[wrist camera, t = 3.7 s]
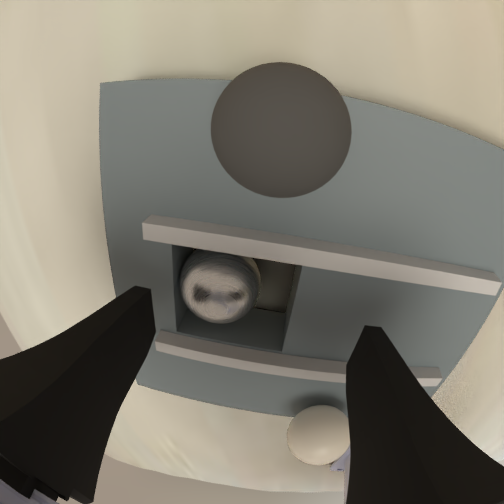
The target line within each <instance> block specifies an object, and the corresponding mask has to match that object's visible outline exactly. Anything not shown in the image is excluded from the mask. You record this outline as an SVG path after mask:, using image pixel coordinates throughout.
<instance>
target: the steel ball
mask: <svg viewBox="0 0 504 504" xmlns="http://www.w3.org/2000/svg"><path fill="white" fill-rule="evenodd" d="M260 290H261V276H260V272H259V269H258V266H257V264H256V262H255V261H254V259H253V258H252V257H246V256H240V255H234V254H228V253H222V252H216V251H210V250H204V249H197V250H195V251H194V252H193V253H192V254H191V255H190V256H189V257H188V259H187V260H186V262H185V263H184V265H183V268H182V271H181V274H180V291H181V295H182V298H183V300H184V302H185V304H186V305H187V307H188V308H189V309H190V310H191V312H193V313H194V314H195V315H196V316H197V317H199V318H201V319H203V320H205V321H208V322H211V323H217V324H224V323H230V322H233V321H236V320H238V319H240V318H242V317H244V316H245V315H246V314H247V313H248V312H250V311H251V309H252V308H253V307H254V305H255V304H256V302H257V300H258V297H259V295H260Z"/></svg>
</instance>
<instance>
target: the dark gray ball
mask: <svg viewBox="0 0 504 504" xmlns="http://www.w3.org/2000/svg"><path fill="white" fill-rule="evenodd" d="M351 135H352V128H351V120H350V115H349V112H348V108H347V106H346V104H345V102H344V100H343V98H342V96H341V95H340V93H339V92H338V90H337V89H336V88H335V87H334V86H333V85H332V84H331V83H330V82H329V81H328V80H327V79H326V78H325V77H323V76H322V75H320V74H319V73H317V72H315V71H313V70H311V69H309V68H307V67H304V66H301V65H297V64H292V63H283V62H276V63H267V64H262V65H259V66H256V67H253V68H251V69H249V70H247V71H245V72H243V73H242V74H240V75H239V76H237V77H236V78H235V79H234V80H232V81H231V82H230V83H229V84H228V86H227V87H226V88H225V89H224V90H223V92H222V93H221V95H220V97H219V98H218V100H217V102H216V105H215V107H214V110H213V114H212V119H211V139H212V144H213V148H214V151H215V153H216V156H217V158H218V160H219V162H220V163H221V165H222V167H223V168H224V169H225V171H226V172H227V173H228V174H229V175H230V176H231V177H232V178H233V179H234V180H235V181H236V182H237V183H239V184H240V185H242V186H243V187H245V188H246V189H248V190H250V191H252V192H254V193H257V194H260V195H263V196H268V197H274V198H291V197H298V196H302V195H305V194H308V193H310V192H313V191H315V190H317V189H318V188H320V187H322V186H323V185H325V184H326V183H327V182H329V181H330V180H331V179H332V178H333V177H334V176H335V175H336V173H337V172H338V171H339V169H340V168H341V166H342V165H343V163H344V161H345V159H346V157H347V154H348V151H349V147H350V144H351Z"/></svg>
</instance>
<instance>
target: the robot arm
mask: <svg viewBox="0 0 504 504" xmlns="http://www.w3.org/2000/svg"><path fill="white" fill-rule="evenodd" d="M155 334H156V327H155V319H154V311H153V303H152V294H151V289H149V288H145V287H140V286H136V285H135V286H133V287H132V288H130V289H129V290H127V291H126V292H124V293H123V294H121V295H120V296H118V297H117V298H115V299H114V300H112V301H111V302H109V303H108V304H106V305H105V306H103V307H102V308H100V309H99V310H97V311H96V312H94V313H93V314H91V315H90V316H88V317H87V318H85V319H84V320H82V321H80V322H79V323H77V324H75V325H74V326H72V327H70V328H69V329H67V330H66V331H64V332H62V333H60V334H59V335H57V336H55V337H53V338H51V339H49V340H47V341H45V342H43V343H41V344H39V345H37V346H34V347H32V348H30V349H27V350H25V351H22V352H20V353H17V354H15V355H13V356H9V357H6V358H3V359H0V504H59V503H57V502H56V500H57V498H58V497H60V498H62V499H64V500H66V501H68V500H69V497H71V498H73V499H75V500H77V501H78V502H80V503H82V504H89V503H92V502H93V500H94V494H95V489H96V484H97V479H98V474H99V470H100V466H101V462H102V459H103V455H104V452H105V448H106V445H107V442H108V439H109V436H110V433H111V430H112V427H113V424H114V421H115V419H116V416H117V413H118V411H119V409H120V407H121V405H122V402H123V401H124V399H125V397H126V395H127V393H128V391H129V389H130V387H131V385H132V384H133V382H134V380H135V378H136V376H137V374H138V372H139V370H140V368H141V367H142V365H143V363H144V361H145V359H146V357H147V355H148V352H149V350H150V347H151V345H152V342H153V339H154V336H155ZM346 401H347V412H348V423H349V435H350V445H349V447H348V449H347V450H346V451H345V453H344V454H343V455H342V456H341V457H339V458H338V459H337V460H335V461H334V463H333V464H332V465H331V466H330V470H331V471H344V504H504V466H502V465H501V464H499V463H498V462H496V461H495V460H493V459H492V458H491V457H489V456H488V455H487V454H486V453H484V452H483V451H482V450H481V449H479V448H478V447H477V446H476V445H475V444H474V443H472V442H471V441H470V440H469V439H468V438H467V437H466V436H465V435H464V434H463V433H462V432H461V431H460V430H459V429H458V428H457V427H456V426H455V425H454V424H453V423H452V422H451V421H450V420H449V419H448V418H447V417H446V415H445V414H444V413H443V412H442V411H441V410H440V409H439V407H438V406H437V405H436V404H435V403H434V401H433V400H432V399H431V398H430V396H429V395H428V394H427V392H426V391H425V390H424V388H423V387H422V386H421V384H420V383H419V382H418V380H417V379H416V377H415V376H414V375H413V373H412V372H411V370H410V369H409V367H408V366H407V364H406V363H405V361H404V360H403V358H402V357H401V355H400V354H399V352H398V351H397V349H396V348H395V346H394V345H393V343H392V342H391V340H390V339H389V337H388V336H387V334H386V333H385V332H384V330H383V329H382V327H377V326H368V325H365V326H364V328H363V330H362V332H361V335H360V337H359V339H358V341H357V343H356V346H355V348H354V350H353V352H352V354H351V356H350V358H349V360H348V362H347V364H346Z"/></svg>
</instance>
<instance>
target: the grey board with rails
mask: <svg viewBox="0 0 504 504" xmlns="http://www.w3.org/2000/svg"><path fill="white" fill-rule="evenodd" d="M231 81H232V80H215V79H146V80H128V81H116V82H105V83H100V107H99V143H100V170H101V186H102V199H103V210H104V220H105V229H106V237H107V244H108V251H109V258H110V265H111V271H112V277H113V283H114V288H115V293H116V298H117V297H118V296H120V295H121V294H123V293H124V292H126V291H127V290H129V289H130V288H132V287H133V286H135V285H136V286H140V287H145V288H149V289H151V294H152V303H153V311H154V319H155V327H156V334H155V336H154V339H153V342H152V345H151V347H150V350H149V352H148V355H147V357H146V359H145V361H144V363H143V365H142V367H141V368H140V370H139V372H138V374H137V376H136V381H137V384H138V385H142V386H145V387H148V388H152V389H155V390H158V391H162V392H166V393H169V394H173V395H177V396H181V397H185V398H189V399H193V400H197V401H202V402H206V403H211V404H215V405H220V406H225V407H230V408H236V409H241V410H247V411H253V412H259V413H266V414H273V415H280V416H288V417H295V416H296V415H297V414H298V413H300V412H301V411H302V410H304V409H306V408H308V407H311V406H315V405H329V406H332V407H335V408H337V409H339V410H340V411H342V412H343V413H344V414H345V415H346V416H347V418H348V412H347V401H346V364H347V362H348V360H349V358H350V356H351V354H352V352H353V350H354V348H355V346H356V343H357V341H358V339H359V337H360V335H361V332H362V330H363V328H364V326H365V325H368V326H377V327H382V329H383V330H384V332H385V333H386V334H387V336H388V337H389V339H390V340H391V342H392V343H393V345H394V346H395V348H396V349H397V351H398V352H399V354H400V355H401V357H402V358H403V360H404V361H405V363H406V364H407V366H408V367H409V369H410V370H411V372H412V373H413V375H414V376H415V377H416V379H417V380H418V382H419V383H420V384H421V386H422V387H423V388H424V390H425V391H426V392H427V394H428V395H429V396H430V398H431V397H432V396H433V394H434V393H435V392H436V391H437V390H438V388H439V387H440V386H441V384H442V383H443V382H444V381H445V379H446V378H447V377H448V375H449V374H450V373H451V371H452V370H453V369H454V367H455V366H456V365H457V363H458V362H459V360H460V359H461V357H462V356H463V355H464V353H465V352H466V350H467V349H468V347H469V346H470V344H471V343H472V341H473V340H474V338H475V337H476V335H477V333H478V332H479V330H480V329H481V327H482V325H483V324H484V322H485V320H486V319H487V317H488V315H489V313H490V312H491V310H492V308H493V306H494V305H495V303H496V301H497V299H498V297H499V295H500V293H501V292H502V290H503V288H504V150H503V149H501V148H499V147H497V146H495V145H493V144H490V143H488V142H486V141H484V140H481V139H479V138H477V137H474V136H472V135H470V134H467V133H465V132H462V131H460V130H457V129H455V128H452V127H449V126H447V125H444V124H441V123H438V122H436V121H433V120H430V119H427V118H424V117H421V116H418V115H415V114H411V113H408V112H405V111H401V110H398V109H395V108H391V107H387V106H384V105H380V104H376V103H372V102H368V101H364V100H360V99H356V98H351V97H347V96H342V95H341V96H342V98H343V100H344V102H345V104H346V106H347V108H348V112H349V115H350V120H351V128H352V135H351V144H350V147H349V151H348V154H347V157H346V159H345V161H344V163H343V165H342V166H341V168H340V169H339V171H338V172H337V173H336V175H335V176H334V177H333V178H332V179H331V180H330V181H329V182H327V183H326V184H325V185H323V186H322V187H320V188H318V189H317V190H315V191H313V192H310V193H308V194H305V195H302V196H298V197H291V198H274V197H268V196H263V195H260V194H257V193H254V192H252V191H250V190H248V189H246V188H245V187H243V186H242V185H240V184H239V183H237V182H236V181H235V180H234V179H233V178H232V177H231V176H230V175H229V174H228V173H227V172H226V171H225V169H224V168H223V167H222V165H221V163H220V162H219V160H218V158H217V156H216V153H215V151H214V148H213V144H212V139H211V119H212V114H213V110H214V107H215V105H216V102H217V100H218V98H219V97H220V95H221V93H222V92H223V90H224V89H225V88H226V87H227V86H228V84H229V83H230V82H231ZM193 248H198V249H204V250H210V251H216V252H222V253H228V254H234V255H240V256H246V257H252V258H259V259H265V260H271V261H277V262H283V263H289V264H296V267H295V272H294V276H293V281H292V286H291V290H290V295H289V299H288V304H287V308H286V313H281V312H275V311H268V310H262V309H256V308H252V309H251V311H250V312H248V313H247V314H246V315H245V316H244V317H242V318H240V319H238V320H236V321H233V322H230V323H224V324H217V323H211V322H208V321H205V320H203V319H201V318H199V317H197V316H196V315H195V314H194V313H193V312H191V310H190V309H189V308H188V307H187V305H186V304H185V302H184V300H183V298H182V295H181V291H180V274H181V271H182V268H183V265H184V263H185V262H186V260H187V259H188V257H189V256H190V255H191V254H192V253H193Z"/></svg>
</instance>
